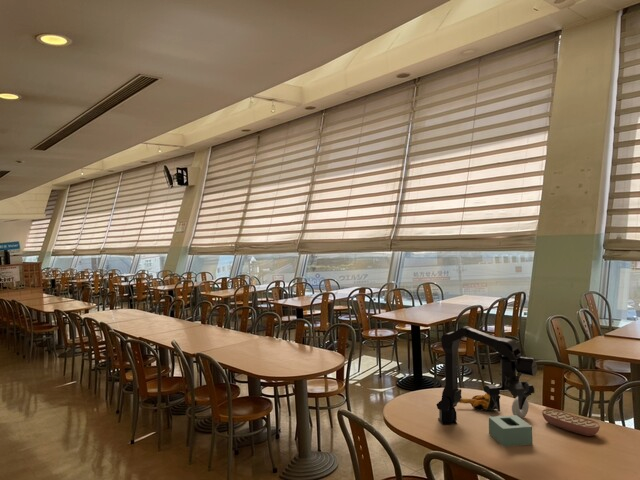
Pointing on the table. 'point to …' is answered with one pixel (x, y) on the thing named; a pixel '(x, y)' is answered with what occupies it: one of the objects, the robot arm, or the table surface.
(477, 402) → the fried shrimp in bowl
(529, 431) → the box
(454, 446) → the table surface
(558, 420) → the pink mitochondrion model
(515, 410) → the donut
